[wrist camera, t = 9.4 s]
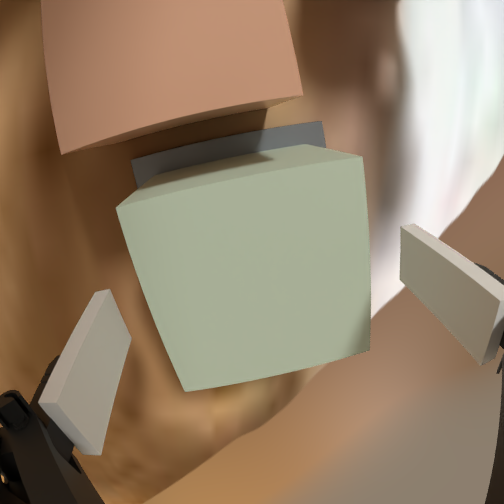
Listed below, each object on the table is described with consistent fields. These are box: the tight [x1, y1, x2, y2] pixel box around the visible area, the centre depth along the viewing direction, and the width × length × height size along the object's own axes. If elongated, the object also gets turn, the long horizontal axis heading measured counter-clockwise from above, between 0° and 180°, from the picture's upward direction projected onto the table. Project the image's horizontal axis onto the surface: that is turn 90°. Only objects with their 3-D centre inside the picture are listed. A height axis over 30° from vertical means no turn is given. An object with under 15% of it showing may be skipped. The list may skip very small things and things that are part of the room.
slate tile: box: [131, 121, 326, 188], centre depth 23 cm, size 13×13×1 cm
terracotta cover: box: [41, 0, 303, 155], centre depth 14 cm, size 10×10×9 cm
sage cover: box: [116, 144, 371, 392], centre depth 18 cm, size 10×10×9 cm
